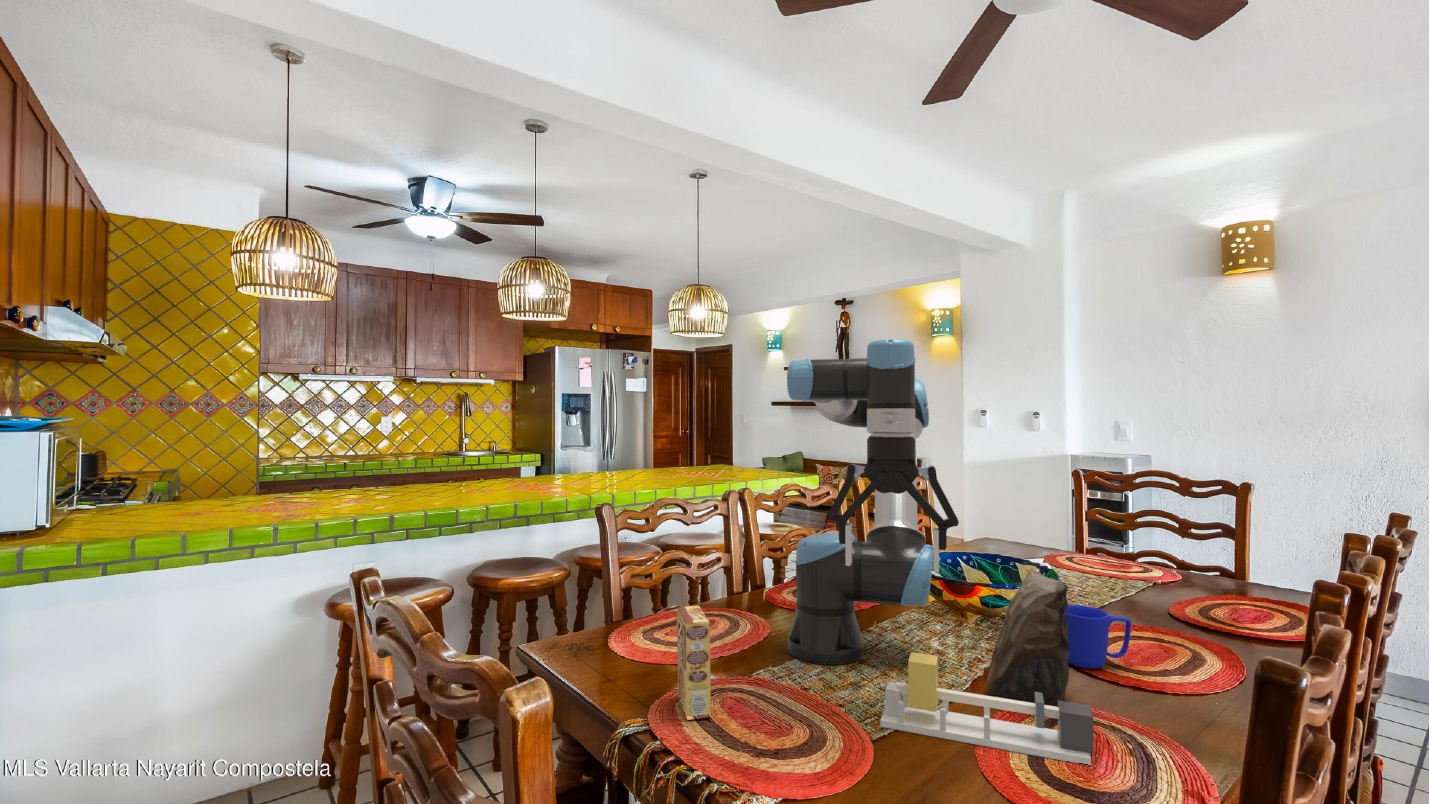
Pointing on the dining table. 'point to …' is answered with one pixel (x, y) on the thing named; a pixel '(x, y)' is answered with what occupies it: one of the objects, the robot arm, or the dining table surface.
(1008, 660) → the brown rock
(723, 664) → the dining table surface
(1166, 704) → the dining table surface
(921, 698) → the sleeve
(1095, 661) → the mug
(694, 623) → the candy box
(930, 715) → the comb rail
